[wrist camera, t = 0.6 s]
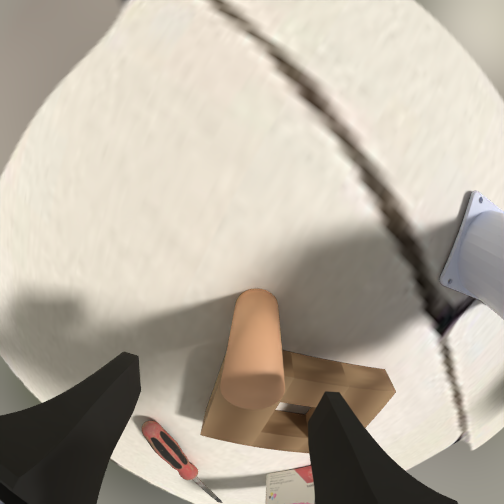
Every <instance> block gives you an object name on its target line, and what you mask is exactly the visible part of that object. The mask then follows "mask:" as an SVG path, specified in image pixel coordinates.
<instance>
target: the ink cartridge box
mask: <svg viewBox="0 0 504 504" xmlns="http://www.w3.org/2000/svg"><path fill="white" fill-rule="evenodd" d="M266 504H315V492H314V482H313V475H312V468H311V466H307V467H302V468H297V469H292V470H287V471H281V472H275V473H269V474H267V477H266Z"/></svg>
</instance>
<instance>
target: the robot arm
mask: <svg viewBox="0 0 504 504" xmlns="http://www.w3.org/2000/svg"><path fill="white" fill-rule="evenodd" d="M479 198H480V201H479ZM449 279H450V280H449ZM448 280H449V282H448ZM440 283H441V284H442V285H443V286H446V287H448V288H451V289H453V290H456V291H458V292H461V293H463V294H466V295H468V296H471V297H473V298H476V299H478V300H481V301H482V302H483V303H485V304H486V305H487V306H488V307H489V308H491V309H492V310H493V311H494V312H495V313H497V314H498V315H499V316H500V317H501V318H502V319H504V212H503V211H502V210H501V209H500V208H499V207H497V206H496V205H495V204H494V203H493V202H491V201H490V200H489V199H488V198H486V197H485V196H484V195H482V194H481V193H480V192H478V191H473V192H472V194H471V197H470V200H469V203H468V207H467V210H466V213H465V216H464V219H463V222H462V225H461V228H460V230H459V233H458V236H457V238H456V241H455V244H454V246H453V249H452V251H451V253H450V256H449V258H448V261H447V263H446V265H445V268H444V270H443V272H442V274H441V276H440ZM140 392H141V384H140V372H139V358H138V356H137V355H134V354H130V353H127V352H122V353H121V354H120V355H118V356H117V357H116V358H114V359H113V360H112V361H110V362H109V363H108V364H106V365H105V366H104V367H102V368H101V369H99V370H98V371H97V372H95V373H94V374H92V375H91V376H89V377H88V378H86V379H85V380H83V381H82V382H80V383H79V384H77V385H75V386H74V387H72V388H70V389H69V390H67V391H65V392H64V393H62V394H60V395H58V396H56V397H54V398H52V399H50V400H48V401H46V402H43V403H41V404H38V405H36V406H33V407H30V408H28V409H25V410H22V411H18V412H14V413H10V414H6V415H1V416H0V504H96V503H97V499H98V495H99V491H100V488H101V484H102V480H103V477H104V474H105V471H106V468H107V465H108V462H109V460H110V457H111V455H112V453H113V450H114V448H115V446H116V444H117V442H118V440H119V439H120V437H121V435H122V433H123V431H124V429H125V427H126V425H127V423H128V421H129V419H130V417H131V415H132V413H133V411H134V409H135V406H136V403H137V400H138V398H139V395H140ZM308 446H309V453H310V461H311V468H312V475H313V482H314V492H315V504H458V503H457V501H455V500H453V499H450V498H448V497H446V496H444V495H442V494H439V493H437V492H436V491H434V490H432V489H430V488H428V487H427V486H425V485H424V484H422V483H421V482H419V481H417V480H416V479H415V478H414V477H412V476H411V475H410V474H408V473H407V472H406V471H405V470H404V469H402V468H401V467H400V466H399V465H398V464H397V463H396V462H395V461H394V460H393V459H391V458H390V457H389V456H388V455H387V453H386V452H385V451H384V450H383V449H382V448H381V447H380V446H379V445H378V443H377V442H376V441H375V440H374V439H373V438H372V436H371V435H370V434H369V433H368V431H367V430H366V429H365V427H364V426H363V425H362V423H361V422H360V421H359V419H358V418H357V416H356V415H355V414H354V412H353V411H352V409H351V408H350V407H349V405H348V404H347V402H346V401H345V399H344V398H343V396H342V395H341V394H340V392H329V391H325V392H324V394H323V396H322V398H321V400H320V402H319V403H318V405H317V407H316V409H315V410H314V412H313V414H312V416H311V417H310V419H309V421H308Z"/></svg>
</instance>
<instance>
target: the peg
mask: <svg viewBox="0 0 504 504" xmlns="http://www.w3.org/2000/svg"><path fill="white" fill-rule="evenodd" d="M220 391H221V394H222V395H223V397H224V398H225V399H226V400H227V401H228V402H229V403H231V404H233V405H235V406H237V407H240V408H244V409H252V410H256V409H264V408H267V407H270V406H272V405H274V404H276V403H277V402H279V401H280V400H281V398H282V397H283V395H284V393H285V381H284V368H283V356H282V344H281V332H280V321H279V310H278V303H277V300H276V298H275V297H274V296H273V295H272V294H271V293H270V292H268V291H266V290H263V289H250V290H247V291H245V292H243V293H242V294H241V295H240V296H239V297H238V299H237V301H236V305H235V310H234V315H233V320H232V326H231V331H230V336H229V341H228V347H227V352H226V357H225V362H224V368H223V373H222V378H221V384H220Z"/></svg>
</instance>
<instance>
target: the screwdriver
mask: <svg viewBox="0 0 504 504" xmlns="http://www.w3.org/2000/svg"><path fill="white" fill-rule="evenodd" d="M142 433H143V435H144V436H145V438H146V440H147V441H148V443H149V444H150V446H151V447H152V448H153V450H154V451H155V452H156V453H157V454H158V455H159V456H160V457H161V458H162V459H163V460H165V461H166V462H167V463H168V464H170V466H171V467H172V468H174V469H176V470H177V471H178V472H179V474H180V476H181V477H182V478H183V479H186V480H191V479H192V480H193V481H194V482H195V483H197V484H198V485H199V486H200V487H201V488H202V489H203V490H204V491H205V492H207V493H208V494H209V495H210V496H211V497H212V498H214V499H215V500H216V501H217V502H221V503H223V502H222V501H221V500H220V499H219V498H218V497H217V496H216V495H215V494H214V493H213V492H212V491H211V490H210V489H209V488H208V487H207V486H206V485H205V484H203V483H202V481H201V480H200V479H199V478H198V477H197V475H198V469H197V468H196V467H195V466H194V465H192V464H191V463H189V461H188V459H187V457H186V456H185V454H184V453H183V452H182V450H181V448H180V446H179V445H178V443H177V442H176V441H175V440H174V439H173V438H172V437H171V436H170V435H169V434H168V433H167V432H166V431H165V430H164V429H163V428H162V427H161V426H160V425H159V424H158V423H156V422H154V421H147V422H145V423H144V424H143V426H142Z"/></svg>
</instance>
